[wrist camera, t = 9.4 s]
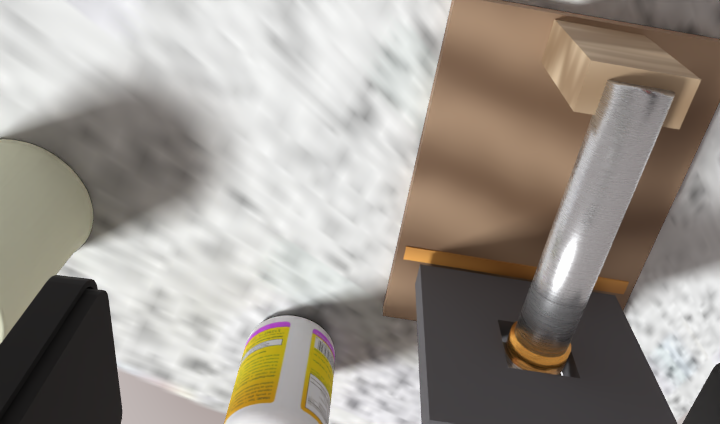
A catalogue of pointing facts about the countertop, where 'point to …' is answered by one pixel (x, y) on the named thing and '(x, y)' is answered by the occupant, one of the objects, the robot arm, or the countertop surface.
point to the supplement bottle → (284, 374)
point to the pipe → (586, 223)
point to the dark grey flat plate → (516, 386)
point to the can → (36, 223)
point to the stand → (539, 140)
